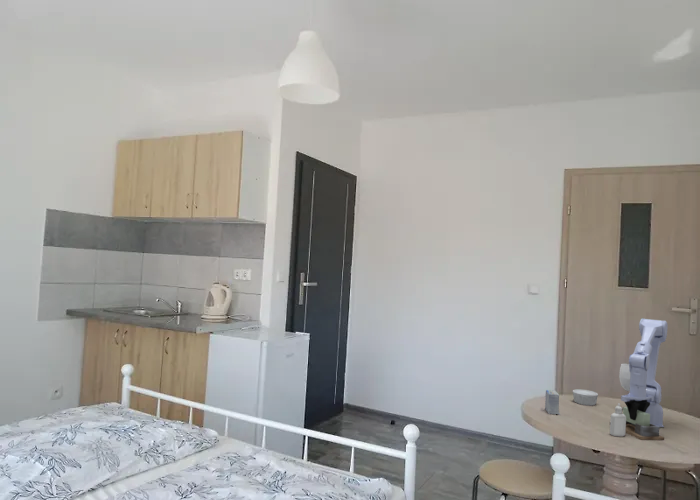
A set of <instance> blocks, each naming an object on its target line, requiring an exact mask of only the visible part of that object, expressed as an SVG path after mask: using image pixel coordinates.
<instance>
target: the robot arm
mask: <svg viewBox="0 0 700 500" xmlns="http://www.w3.org/2000/svg"><path fill="white" fill-rule="evenodd" d="M638 326H639V327H638V330H639V333H640V336H641V339H640V341H638V342H637V343H636V346H635V347H634V351H633V353H632V354H629V358H628V364H629V372H630V391H628V392H629V393H627V394H624V395H620V401H621V402H624V404H625V407H627V408H628V411H629V415H630V419H632V420H636V416H637V410H639V411H642V412H645V413H648V414H650V424H653V425H655V426H657V427H660V428H664V427H665V426H664V425H663V423H664V410H663V407H662V405H661V404H660V403H661V401H662V386H661V384H660V383H659V382H657V381H656V374H657V367H658V360H659V352H660V348H661V344H662V343H665V342H666V340H667V337H668V327H669V325H668V322H667V321H666V320H660V319H649V318H644V317H643V318H641V319H640V321H639V325H638Z"/></svg>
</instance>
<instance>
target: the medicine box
mask: <svg viewBox="0 0 700 500" xmlns="http://www.w3.org/2000/svg"><path fill="white" fill-rule="evenodd" d="M544 400H545V401H544V402H545V403H544V404H545V405H544V409H545V411H546V412H547V414H548V415H549V414H550V415H556V414H558V415H559V412H560V409H559V408H560V394H559V393H558V392H557V390H551V389H546V390H545V399H544Z"/></svg>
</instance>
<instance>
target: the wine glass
mask: <svg viewBox="0 0 700 500" xmlns="http://www.w3.org/2000/svg"><path fill="white" fill-rule="evenodd" d="M618 375H619V376H618V377H619V383H620V387H621V388H622V389H623V390H625V391H627V392H630V372H629V363H621V364H620V367H619V373H618Z"/></svg>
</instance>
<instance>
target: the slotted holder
mask: <svg viewBox="0 0 700 500" xmlns="http://www.w3.org/2000/svg"><path fill="white" fill-rule="evenodd" d="M660 428H661V427H657V426H655V425H653V424H650V426H642V425H639V424H637V423H635V424H633V423H630V422H628V421H626V432H625V434H628V435H630V436H632V437H633V438H636V439H638V440H640V441H641V440H642V441H665V437H664V436H662V435H660Z"/></svg>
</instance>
